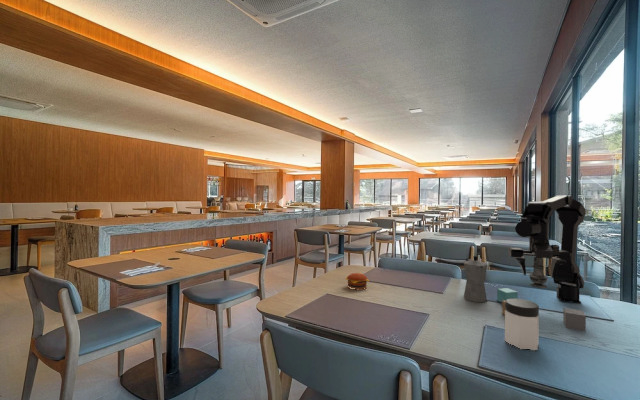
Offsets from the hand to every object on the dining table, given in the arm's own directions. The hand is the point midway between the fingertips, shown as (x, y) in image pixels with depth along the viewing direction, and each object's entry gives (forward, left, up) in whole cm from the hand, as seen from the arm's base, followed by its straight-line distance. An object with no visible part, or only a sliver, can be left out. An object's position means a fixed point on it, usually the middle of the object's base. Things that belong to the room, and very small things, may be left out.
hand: (538, 276), depth 113 cm
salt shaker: (0, 0, -4) cm, 4 cm away
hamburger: (+71, -3, -13) cm, 72 cm away
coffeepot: (+21, -7, -13) cm, 26 cm away
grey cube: (-7, +12, -13) cm, 19 cm away
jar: (+12, +32, -13) cm, 37 cm away
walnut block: (+10, +10, -13) cm, 19 cm away
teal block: (+9, -6, -13) cm, 17 cm away
